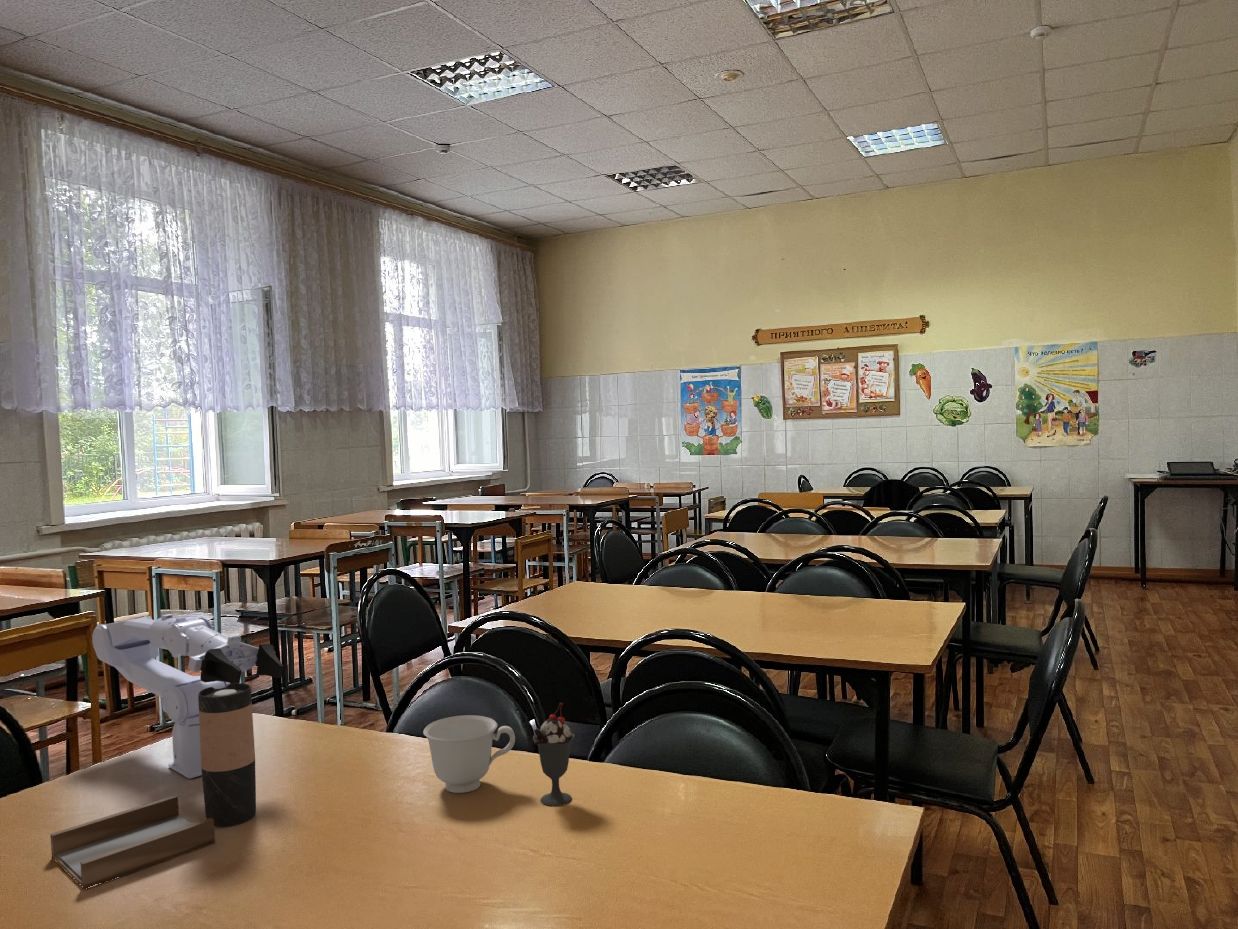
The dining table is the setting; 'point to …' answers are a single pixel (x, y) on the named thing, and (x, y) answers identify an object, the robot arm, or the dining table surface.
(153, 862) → the u rest
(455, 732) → the teacup
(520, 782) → the dining table surface
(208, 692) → the travel mug
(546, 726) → the sundae
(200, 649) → the robot arm
